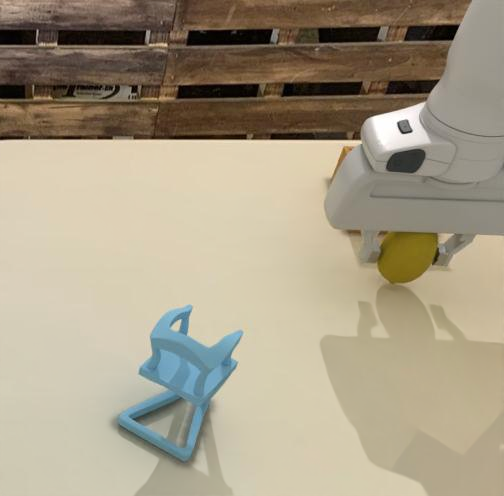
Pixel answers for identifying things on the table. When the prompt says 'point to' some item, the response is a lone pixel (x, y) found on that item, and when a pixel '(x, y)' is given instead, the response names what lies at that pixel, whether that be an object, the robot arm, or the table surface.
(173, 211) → the table surface
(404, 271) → the lemon
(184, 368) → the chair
